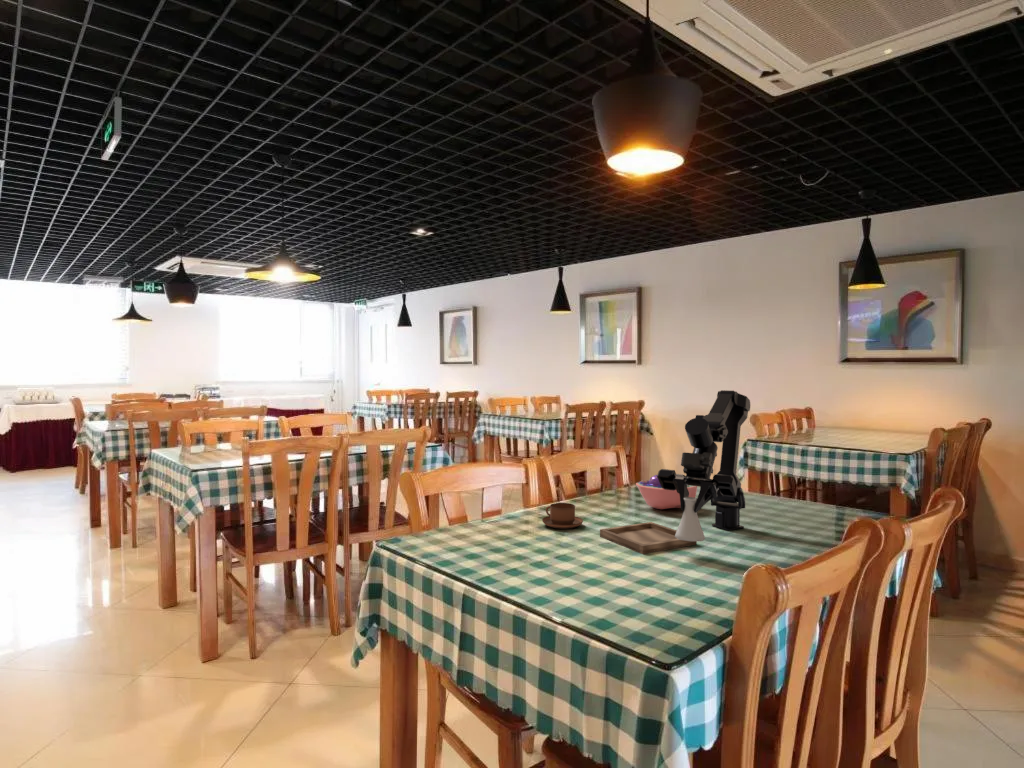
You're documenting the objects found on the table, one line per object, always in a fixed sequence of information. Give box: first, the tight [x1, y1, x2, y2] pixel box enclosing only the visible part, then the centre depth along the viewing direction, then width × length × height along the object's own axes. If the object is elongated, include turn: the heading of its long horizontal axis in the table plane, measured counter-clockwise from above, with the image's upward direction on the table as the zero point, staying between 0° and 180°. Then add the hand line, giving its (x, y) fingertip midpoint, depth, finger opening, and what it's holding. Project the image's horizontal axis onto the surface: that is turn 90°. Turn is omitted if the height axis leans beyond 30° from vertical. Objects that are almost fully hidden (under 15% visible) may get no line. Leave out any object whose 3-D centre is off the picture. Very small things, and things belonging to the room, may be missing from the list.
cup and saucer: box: [541, 502, 584, 530], centre depth 178 cm, size 12×12×6 cm
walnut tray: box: [599, 521, 698, 555], centre depth 162 cm, size 18×18×2 cm
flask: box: [675, 497, 706, 542], centre depth 148 cm, size 7×7×10 cm
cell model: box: [635, 474, 698, 510], centre depth 200 cm, size 17×20×11 cm
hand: (688, 510), depth 147 cm, fingers closed on flask, 3 cm apart
